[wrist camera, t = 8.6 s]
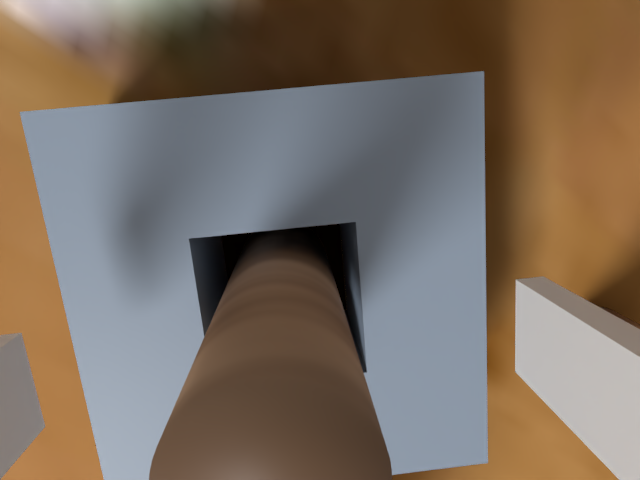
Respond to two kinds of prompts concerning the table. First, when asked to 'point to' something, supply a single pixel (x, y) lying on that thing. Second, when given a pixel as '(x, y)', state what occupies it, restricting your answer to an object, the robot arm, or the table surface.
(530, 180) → the table surface
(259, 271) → the long dowel
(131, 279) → the socket block
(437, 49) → the table surface
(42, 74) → the table surface
